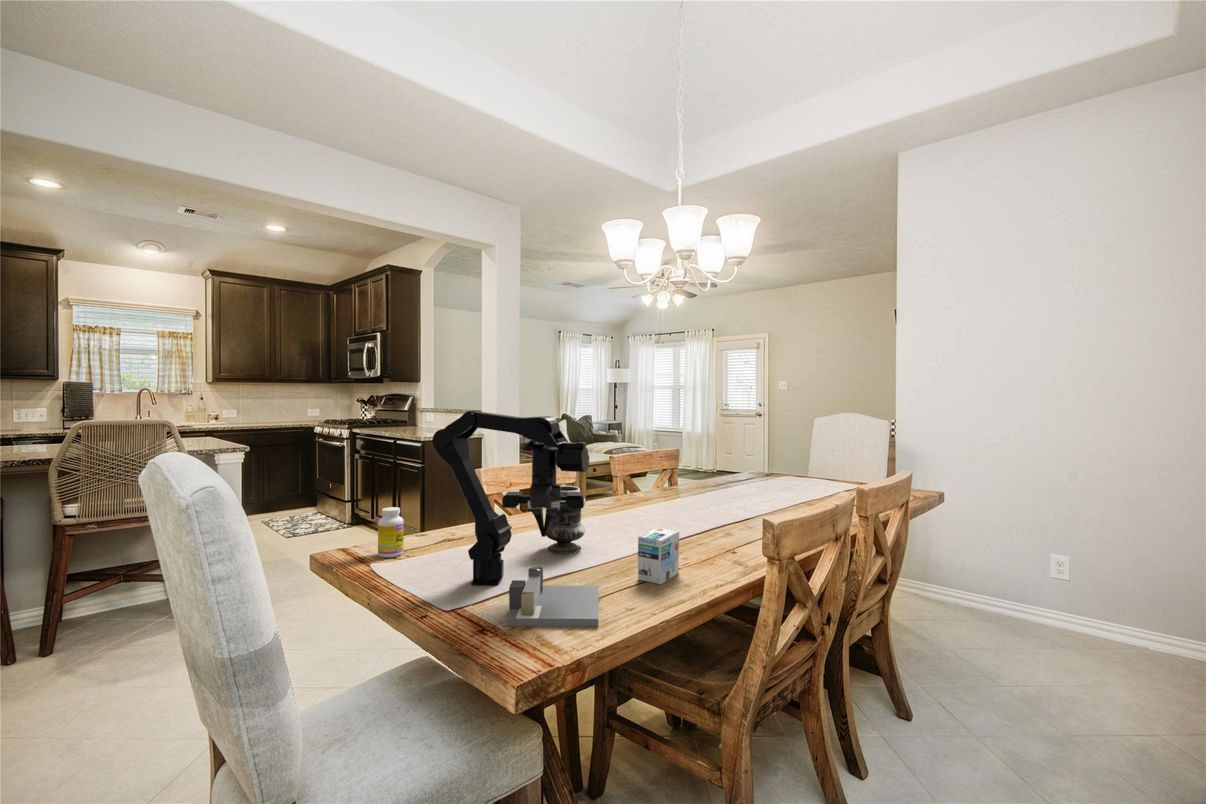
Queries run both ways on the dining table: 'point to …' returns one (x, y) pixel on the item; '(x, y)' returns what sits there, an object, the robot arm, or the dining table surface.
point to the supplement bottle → (390, 533)
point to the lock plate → (556, 606)
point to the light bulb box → (658, 555)
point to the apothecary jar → (565, 526)
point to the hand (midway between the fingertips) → (543, 536)
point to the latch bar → (532, 590)
